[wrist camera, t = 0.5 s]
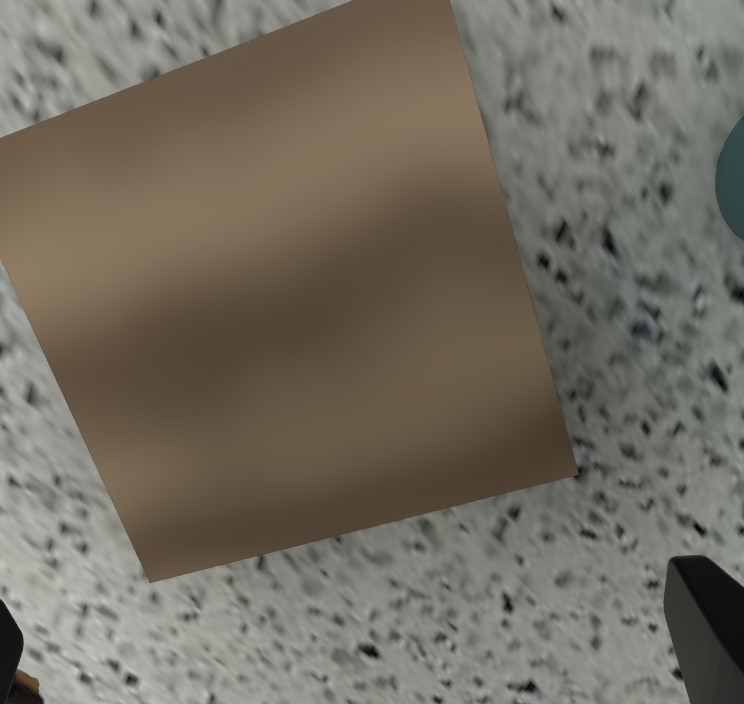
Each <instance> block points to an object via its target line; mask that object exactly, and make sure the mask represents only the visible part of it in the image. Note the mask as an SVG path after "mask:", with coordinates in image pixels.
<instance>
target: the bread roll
mask: <svg viewBox="0 0 744 704" xmlns="http://www.w3.org/2000/svg"><path fill="white" fill-rule="evenodd" d="M38 687H39V682H38V679H36V678H33V677H30V676H29V675H28V674H27V673H25V672H23V671H21V670H19V669H17V670H16V673H15V676H14V679H13V682H12V685H11V688H10V691H9V694H8V697H7V700H6V703H5V704H41V702H40V698H39V695H38V692H39V689H38Z"/></svg>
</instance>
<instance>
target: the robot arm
mask: <svg viewBox="0 0 744 704" xmlns="http://www.w3.org/2000/svg"><path fill="white" fill-rule="evenodd" d="M663 603H664V613H665V618H666V622H667V626H668V629H669V632H670V636H671V639H672V643H673V646H674V649H675V653H676V656H677V660H678V663H679V666H680V670H681V673H682V677H683V680H684V683H685V687H686V690H687V694H688V697H689V700H690V704H744V587H743V586H742V585H741V584H739V583H738V582H737V581H736V580H735V579H733V578H732V577H731V576H730V575H729V574H727V573H726V572H725V571H724V570H723V569H721V568H720V567H719V566H718V565H717V564H715V563H714V562H713V561H712V560H711V559H709V558H707V557H705V556H703V555H689V556H675V557H672V558H671V559H670V560H669V562H668V566H667V575H666V583H665V592H664V602H663ZM23 645H24V639H23V634H22V632H21V630H20V629H19V627H18V625H17V624H16V622H15V620H14V619H13V617H12V615H11V614H10V612H9V610H8V609H7V607H6V605H5V604H4V602H3V601H2V600H1V599H0V704H5V703H6V700H7V697H8V694H9V691H10V688H11V685H12V682H13V679H14V676H15V673H16V670H17V667H18V664H19V661H20V658H21V655H22V651H23Z"/></svg>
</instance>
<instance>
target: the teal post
mask: <svg viewBox="0 0 744 704" xmlns="http://www.w3.org/2000/svg"><path fill="white" fill-rule="evenodd" d="M716 193H717V200H718V203H719V207H720V210H721V212H722V214H723V217H724V219H725V220H726V222H727V223H728V225H729V227H730V228H731V229H732V230H733V231H734V232H735V234H736V235H738V236H739V237H740V238H741V239H742V240H743V241H744V117H743V118H742V119H741V120H740V121H739V122H738V124H737V125H736V126H735V128H734V129H733V131H732V132H731V134H730V135H729V137H728V139H727V141H726V143H725V145H724V147H723V150H722V152H721V155H720V158H719V162H718V165H717V172H716Z"/></svg>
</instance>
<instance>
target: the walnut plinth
mask: <svg viewBox="0 0 744 704" xmlns="http://www.w3.org/2000/svg"><path fill="white" fill-rule="evenodd" d="M0 259H1V261H2V263H3V266H4V268H5V270H6V272H7V274H8V276H9V279H10V281H11V283H12V285H13V287H14V289H15V292H16V294H17V296H18V298H19V300H20V303H21V305H22V307H23V309H24V311H25V313H26V316H27V318H28V320H29V322H30V324H31V326H32V329H33V331H34V333H35V335H36V337H37V339H38V342H39V344H40V346H41V348H42V350H43V352H44V355H45V357H46V359H47V361H48V363H49V365H50V368H51V370H52V372H53V374H54V376H55V378H56V381H57V383H58V385H59V387H60V389H61V391H62V394H63V396H64V398H65V400H66V402H67V404H68V407H69V409H70V411H71V413H72V415H73V417H74V420H75V422H76V424H77V426H78V428H79V430H80V433H81V435H82V437H83V439H84V441H85V443H86V446H87V448H88V450H89V452H90V454H91V456H92V459H93V461H94V463H95V465H96V467H97V469H98V472H99V474H100V476H101V478H102V480H103V482H104V485H105V487H106V489H107V491H108V493H109V495H110V498H111V500H112V502H113V504H114V506H115V508H116V511H117V513H118V515H119V517H120V519H121V521H122V524H123V526H124V528H125V530H126V532H127V534H128V537H129V539H130V541H131V543H132V545H133V547H134V550H135V552H136V554H137V556H138V558H139V560H140V563H141V565H142V567H143V569H144V571H145V573H146V576H147V578H148V580H149V582H150V583H152V582H156V581H160V580H164V579H168V578H172V577H176V576H180V575H184V574H188V573H192V572H196V571H199V570H203V569H207V568H211V567H215V566H219V565H223V564H227V563H231V562H235V561H239V560H243V559H247V558H251V557H255V556H259V555H263V554H267V553H271V552H275V551H279V550H283V549H287V548H290V547H294V546H298V545H302V544H306V543H310V542H314V541H318V540H322V539H326V538H330V537H334V536H338V535H342V534H346V533H350V532H354V531H358V530H362V529H366V528H370V527H374V526H378V525H381V524H385V523H389V522H393V521H397V520H401V519H405V518H409V517H413V516H417V515H421V514H425V513H429V512H433V511H437V510H441V509H445V508H449V507H453V506H457V505H461V504H465V503H469V502H472V501H476V500H480V499H484V498H488V497H492V496H496V495H500V494H504V493H508V492H512V491H516V490H520V489H524V488H528V487H532V486H536V485H540V484H544V483H548V482H552V481H556V480H560V479H563V478H567V477H571V476H575V475H579V473H578V469H577V465H576V462H575V458H574V454H573V451H572V447H571V443H570V440H569V436H568V433H567V429H566V425H565V422H564V418H563V414H562V411H561V407H560V403H559V400H558V396H557V392H556V389H555V385H554V381H553V378H552V374H551V370H550V367H549V363H548V359H547V356H546V352H545V348H544V345H543V341H542V337H541V334H540V330H539V326H538V323H537V319H536V315H535V312H534V308H533V304H532V301H531V297H530V293H529V290H528V286H527V282H526V279H525V275H524V271H523V268H522V264H521V260H520V257H519V253H518V249H517V246H516V242H515V238H514V235H513V231H512V227H511V224H510V220H509V216H508V213H507V209H506V205H505V202H504V198H503V194H502V191H501V187H500V183H499V180H498V176H497V172H496V169H495V165H494V161H493V158H492V154H491V150H490V147H489V143H488V139H487V136H486V132H485V128H484V125H483V121H482V117H481V114H480V110H479V106H478V103H477V99H476V95H475V92H474V88H473V84H472V81H471V77H470V73H469V70H468V66H467V62H466V59H465V55H464V51H463V48H462V44H461V40H460V37H459V33H458V29H457V26H456V22H455V18H454V15H453V11H452V7H451V4H450V0H353V1H350V2H348V3H345V4H343V5H340V6H338V7H335V8H332V9H330V10H327V11H325V12H322V13H320V14H317V15H314V16H312V17H309V18H307V19H304V20H302V21H299V22H297V23H294V24H291V25H289V26H286V27H284V28H281V29H279V30H276V31H273V32H271V33H268V34H266V35H263V36H261V37H258V38H255V39H253V40H250V41H248V42H245V43H243V44H240V45H238V46H235V47H232V48H230V49H227V50H225V51H222V52H220V53H217V54H214V55H212V56H209V57H207V58H204V59H202V60H199V61H197V62H194V63H191V64H189V65H186V66H184V67H181V68H179V69H176V70H173V71H171V72H168V73H166V74H163V75H161V76H158V77H155V78H153V79H150V80H148V81H145V82H143V83H140V84H138V85H135V86H132V87H130V88H127V89H125V90H122V91H120V92H117V93H114V94H112V95H109V96H107V97H104V98H102V99H99V100H97V101H94V102H91V103H89V104H86V105H84V106H81V107H79V108H76V109H73V110H71V111H68V112H66V113H63V114H61V115H58V116H56V117H53V118H50V119H48V120H45V121H43V122H40V123H38V124H35V125H32V126H30V127H27V128H25V129H22V130H20V131H17V132H14V133H12V134H9V135H7V136H4V137H2V138H0Z"/></svg>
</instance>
